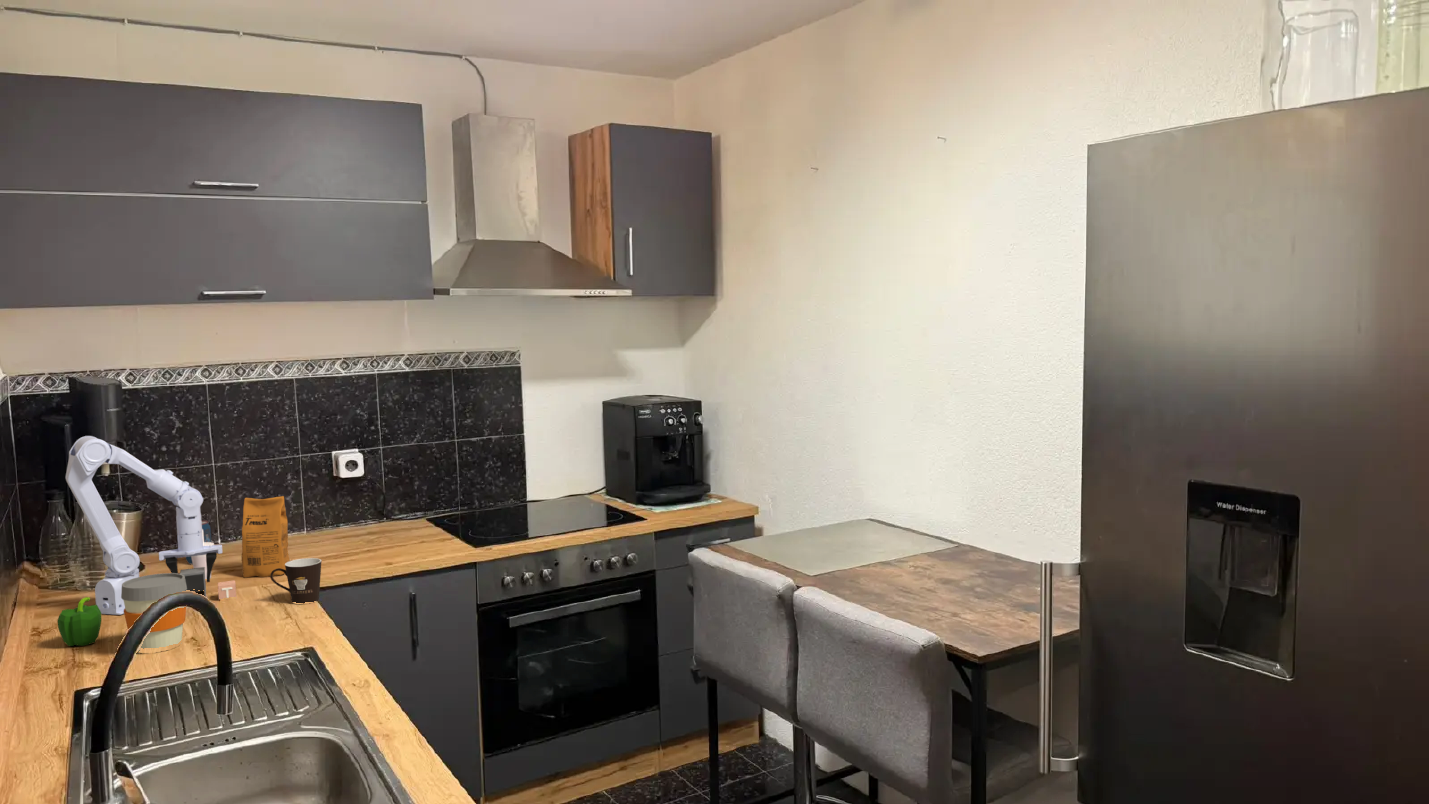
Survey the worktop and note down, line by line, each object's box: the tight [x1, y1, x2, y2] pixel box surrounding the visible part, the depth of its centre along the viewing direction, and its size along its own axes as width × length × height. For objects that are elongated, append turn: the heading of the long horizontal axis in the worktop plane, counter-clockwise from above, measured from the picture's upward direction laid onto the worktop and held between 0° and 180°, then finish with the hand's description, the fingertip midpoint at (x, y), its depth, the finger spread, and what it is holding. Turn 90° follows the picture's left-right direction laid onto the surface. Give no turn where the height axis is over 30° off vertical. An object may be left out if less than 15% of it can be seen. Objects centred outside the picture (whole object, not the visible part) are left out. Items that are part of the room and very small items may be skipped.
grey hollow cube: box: [179, 567, 207, 597], centre depth 250 cm, size 6×6×6 cm
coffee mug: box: [270, 557, 322, 603], centre depth 243 cm, size 12×9×10 cm
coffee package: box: [241, 495, 291, 579], centre depth 269 cm, size 10×12×22 cm
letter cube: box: [217, 580, 237, 600], centre depth 246 cm, size 4×4×4 cm
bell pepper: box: [56, 596, 102, 647], centre depth 213 cm, size 8×8×10 cm
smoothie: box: [191, 529, 215, 579], centre depth 265 cm, size 6×6×14 cm
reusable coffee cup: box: [121, 572, 187, 652], centre depth 210 cm, size 13×13×15 cm
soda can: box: [185, 520, 212, 565], centre depth 284 cm, size 7×7×12 cm
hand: (193, 583), depth 250 cm, fingers open, 6 cm apart
